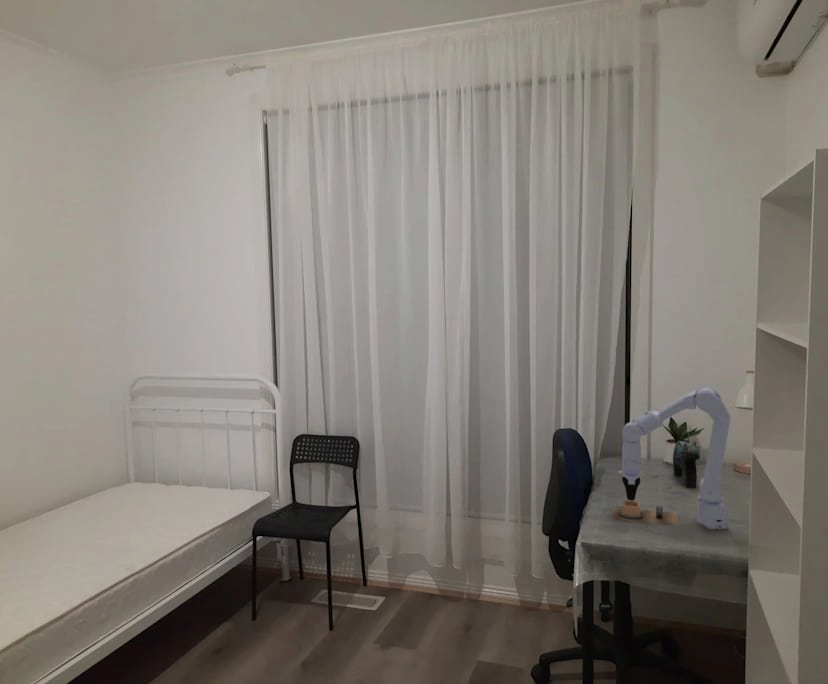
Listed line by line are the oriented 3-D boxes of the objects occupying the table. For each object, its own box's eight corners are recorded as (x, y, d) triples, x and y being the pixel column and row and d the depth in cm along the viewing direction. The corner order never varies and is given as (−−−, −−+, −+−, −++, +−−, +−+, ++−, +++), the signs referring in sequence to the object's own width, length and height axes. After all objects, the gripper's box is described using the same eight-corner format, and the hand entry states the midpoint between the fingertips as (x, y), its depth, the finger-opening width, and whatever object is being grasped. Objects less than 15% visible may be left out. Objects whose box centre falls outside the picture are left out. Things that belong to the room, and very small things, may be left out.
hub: (642, 512, 209) (643, 502, 209) (643, 520, 202) (643, 510, 202) (618, 510, 212) (618, 500, 212) (618, 517, 205) (618, 508, 204)
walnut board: (676, 517, 208) (676, 512, 208) (679, 530, 197) (679, 526, 197) (613, 511, 215) (613, 507, 214) (612, 524, 203) (612, 519, 203)
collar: (639, 510, 209) (639, 501, 208) (640, 516, 204) (640, 507, 203) (622, 509, 210) (622, 500, 210) (622, 514, 205) (622, 505, 205)
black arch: (700, 489, 236) (702, 437, 235) (682, 489, 237) (683, 437, 236) (684, 474, 256) (685, 425, 254) (667, 474, 257) (668, 425, 255)
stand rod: (662, 516, 205) (662, 506, 205) (662, 518, 203) (663, 508, 203) (655, 516, 206) (656, 505, 205) (656, 518, 204) (656, 507, 203)
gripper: (618, 453, 216) (618, 491, 217) (618, 464, 202) (618, 505, 203) (640, 454, 214) (640, 493, 215) (642, 465, 200) (641, 507, 201)
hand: (630, 499), depth 209 cm, fingers closed
